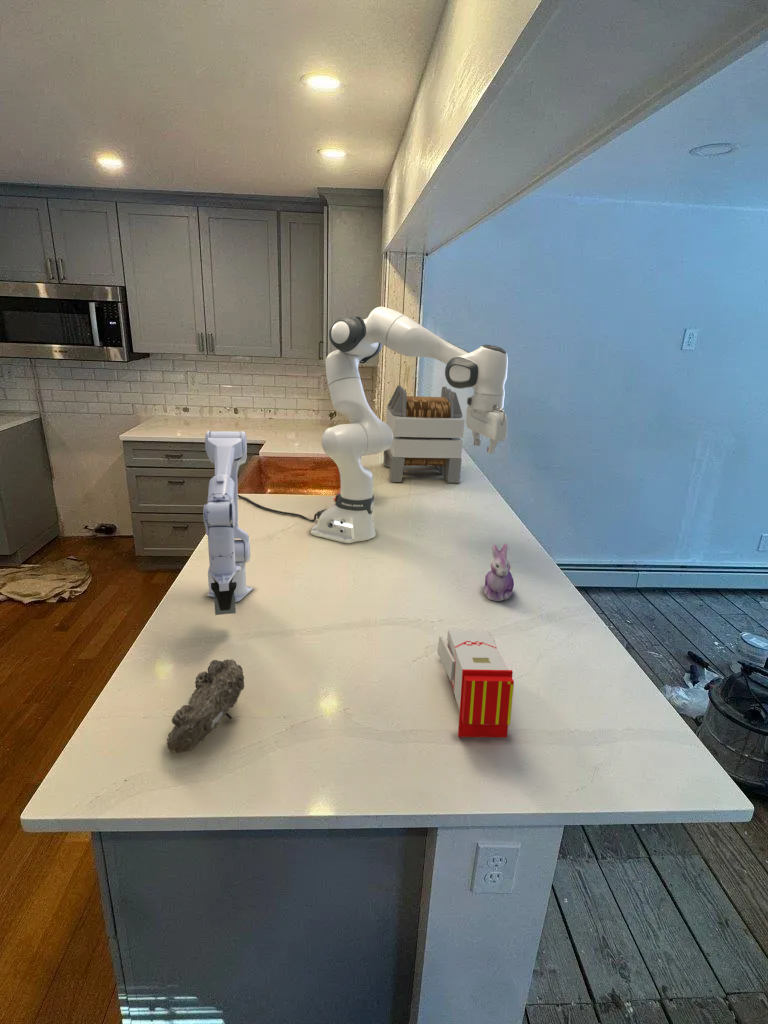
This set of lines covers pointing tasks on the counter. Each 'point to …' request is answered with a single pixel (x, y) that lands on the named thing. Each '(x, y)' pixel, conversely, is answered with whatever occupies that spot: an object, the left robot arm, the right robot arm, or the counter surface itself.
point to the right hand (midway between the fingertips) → (483, 449)
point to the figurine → (499, 576)
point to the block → (219, 612)
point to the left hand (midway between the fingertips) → (224, 604)
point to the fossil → (206, 705)
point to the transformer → (425, 433)
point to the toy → (478, 682)
